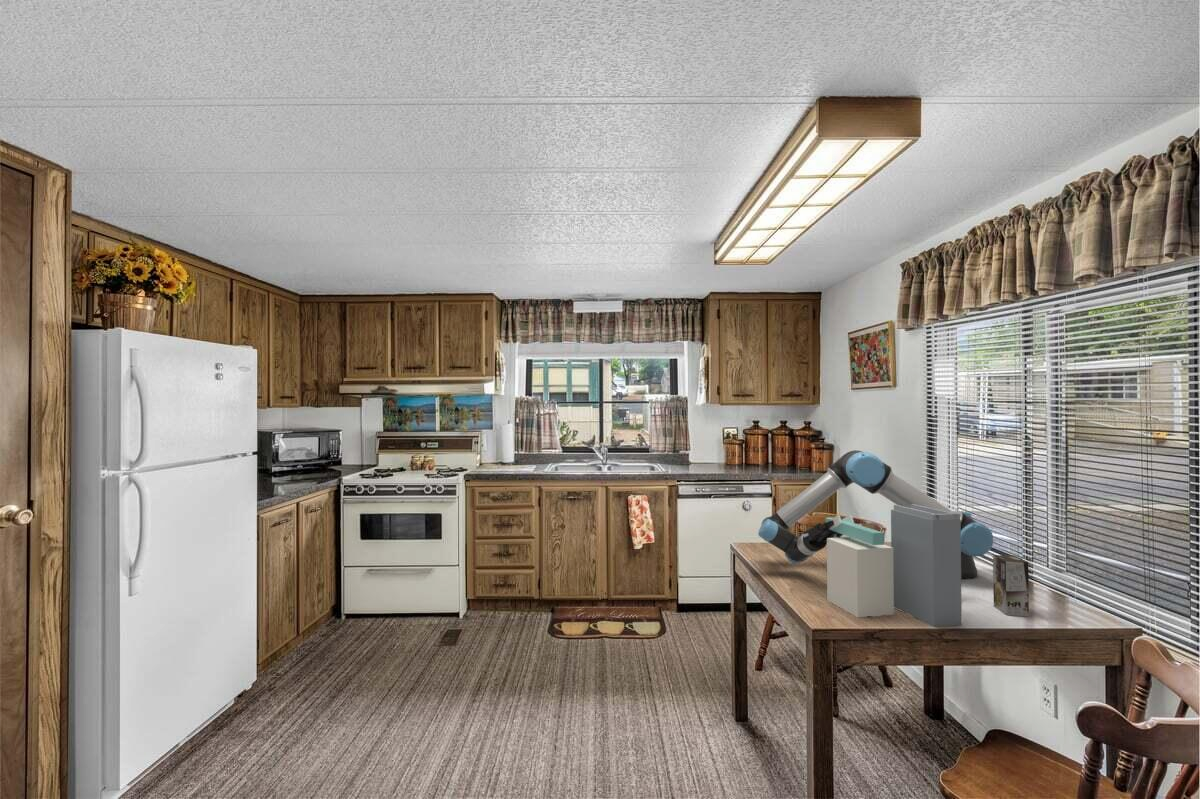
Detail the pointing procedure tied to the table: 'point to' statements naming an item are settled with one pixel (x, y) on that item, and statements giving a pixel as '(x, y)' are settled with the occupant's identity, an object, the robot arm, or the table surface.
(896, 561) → the tall grey bin
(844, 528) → the lid bar
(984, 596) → the table surface
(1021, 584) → the coffee box
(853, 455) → the robot arm
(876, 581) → the beige tall block
